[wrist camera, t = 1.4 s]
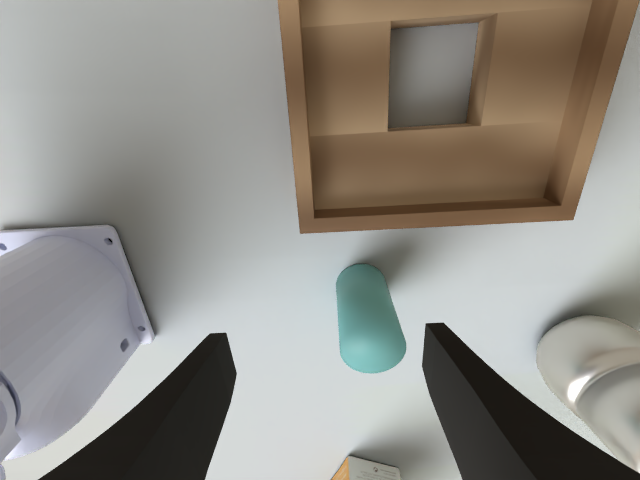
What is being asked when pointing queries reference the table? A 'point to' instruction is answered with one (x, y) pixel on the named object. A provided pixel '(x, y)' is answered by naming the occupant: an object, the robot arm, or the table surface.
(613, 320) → the plastic bottle
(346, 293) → the peg
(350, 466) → the small box
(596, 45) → the crate
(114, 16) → the table surface
